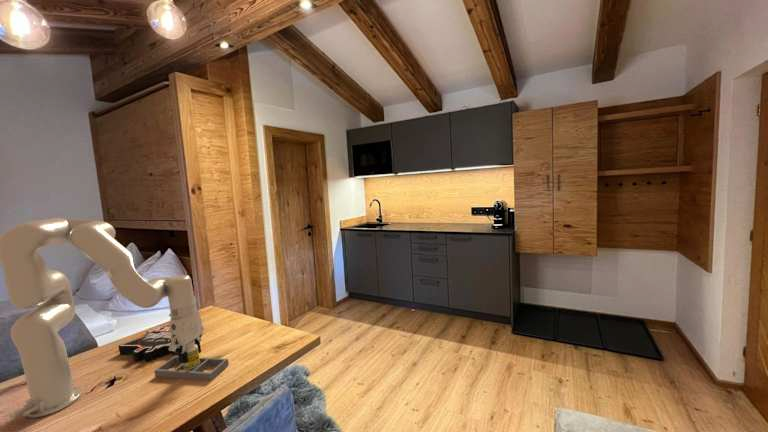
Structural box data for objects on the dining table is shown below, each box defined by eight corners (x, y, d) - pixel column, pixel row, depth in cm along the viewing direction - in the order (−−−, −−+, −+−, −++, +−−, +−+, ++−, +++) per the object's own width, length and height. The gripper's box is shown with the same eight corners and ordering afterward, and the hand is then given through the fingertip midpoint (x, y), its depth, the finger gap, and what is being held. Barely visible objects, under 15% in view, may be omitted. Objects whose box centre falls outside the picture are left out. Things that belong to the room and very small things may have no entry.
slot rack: (211, 380, 107) (210, 373, 107) (155, 376, 112) (153, 369, 111) (228, 364, 116) (227, 357, 116) (176, 361, 121) (175, 355, 120)
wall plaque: (105, 353, 123) (164, 318, 152) (106, 363, 123) (166, 326, 153) (170, 353, 120) (218, 317, 150) (171, 363, 121) (219, 325, 150)
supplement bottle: (195, 360, 117) (191, 336, 116) (203, 363, 115) (199, 339, 113) (180, 368, 113) (176, 343, 111) (188, 371, 110) (184, 346, 109)
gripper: (172, 321, 102) (180, 372, 104) (209, 300, 119) (216, 345, 121) (152, 321, 103) (161, 371, 106) (192, 300, 120) (199, 344, 122)
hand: (190, 356), depth 113 cm, fingers closed on supplement bottle, 5 cm apart
